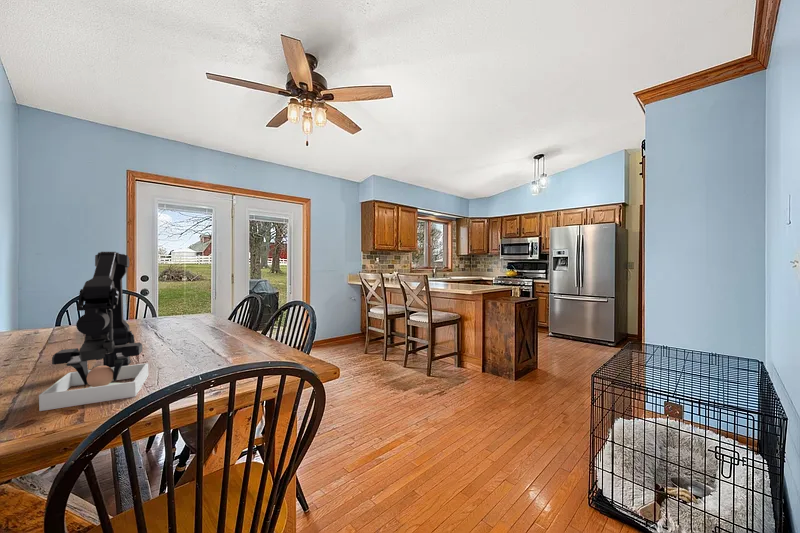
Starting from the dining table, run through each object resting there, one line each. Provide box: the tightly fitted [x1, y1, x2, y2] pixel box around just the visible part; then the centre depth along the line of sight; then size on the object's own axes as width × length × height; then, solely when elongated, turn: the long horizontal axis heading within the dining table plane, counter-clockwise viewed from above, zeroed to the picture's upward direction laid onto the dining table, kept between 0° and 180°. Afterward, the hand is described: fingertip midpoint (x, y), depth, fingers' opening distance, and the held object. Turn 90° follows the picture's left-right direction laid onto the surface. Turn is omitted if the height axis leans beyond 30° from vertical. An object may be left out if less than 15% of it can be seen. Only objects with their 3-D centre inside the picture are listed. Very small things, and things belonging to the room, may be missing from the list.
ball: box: [87, 365, 114, 387], centre depth 98 cm, size 6×6×6 cm
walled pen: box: [38, 362, 149, 412], centre depth 98 cm, size 19×19×4 cm
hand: (100, 382), depth 98 cm, fingers closed on ball, 6 cm apart
